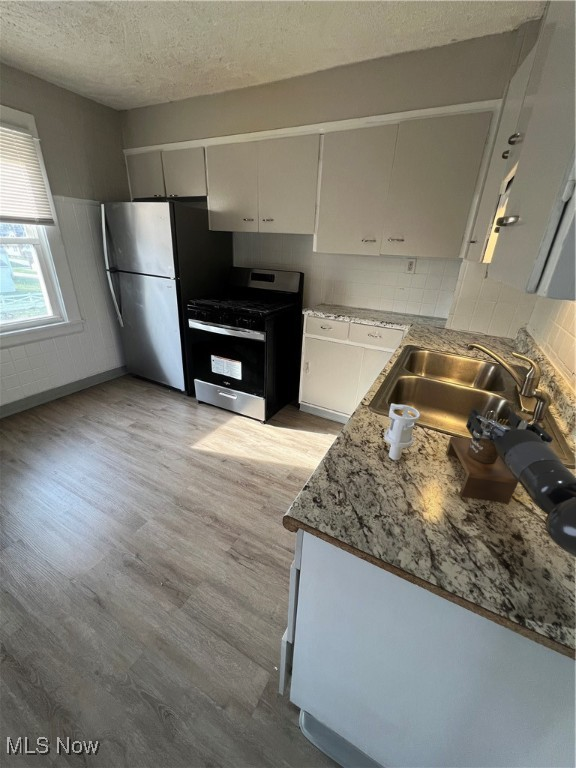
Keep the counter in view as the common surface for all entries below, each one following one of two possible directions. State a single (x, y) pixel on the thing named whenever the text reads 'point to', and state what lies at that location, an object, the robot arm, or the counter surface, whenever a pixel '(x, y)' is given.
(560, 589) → the counter surface
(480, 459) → the utensil holder
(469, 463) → the wooden pedestal stand
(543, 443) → the robot arm
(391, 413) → the strainer
